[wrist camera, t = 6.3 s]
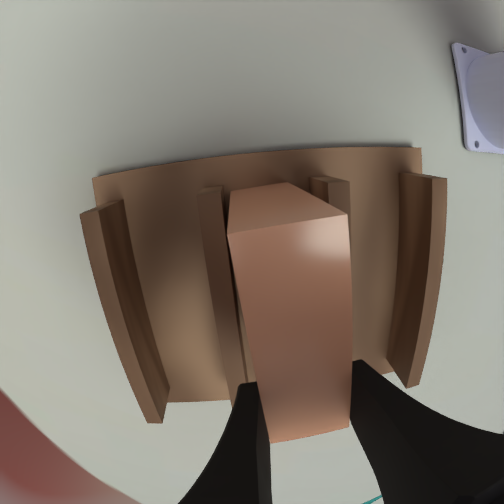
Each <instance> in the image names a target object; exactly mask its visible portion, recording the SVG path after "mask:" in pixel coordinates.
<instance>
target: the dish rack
mask: <svg viewBox="0 0 504 504" xmlns="http://www.w3.org/2000/svg"><path fill="white" fill-rule="evenodd" d="M92 181H93V188H94V194H95V201H96V206H97V207H95V208H92V209H90V210H88V211H86V212H83V213H81V214H80V219H81V224H82V229H83V234H84V238H85V243H86V247H87V252H88V256H89V260H90V264H91V268H92V272H93V276H94V279H95V283H96V287H97V290H98V294H99V297H100V301H101V304H102V307H103V310H104V314H105V317H106V320H107V323H108V326H109V329H110V332H111V335H112V338H113V341H114V344H115V346H116V349H117V352H118V355H119V357H120V360H121V363H122V365H123V368H124V370H125V373H126V375H127V378H128V380H129V383H130V385H131V388H132V390H133V392H134V395H135V397H136V399H137V401H138V404H139V406H140V408H141V410H142V413H143V415H144V417H145V419H146V421H147V423H163V418H164V414H165V409H166V404H167V402H199V401H216V400H231V405H232V408H233V405H234V402H235V398H236V394H237V389H238V386H239V385H240V384H242V383H248V382H255V381H257V380H256V375H255V371H254V366H253V361H252V356H251V352H250V347H249V342H248V337H247V332H246V328H245V323H244V318H243V313H242V308H241V303H240V298H239V293H238V288H237V283H236V278H235V273H234V268H233V263H232V257H231V252H230V247H229V242H228V237H227V228H228V217H229V205H230V194H231V191H235V190H241V189H247V188H253V187H259V186H265V185H271V184H278V183H284V182H288V183H290V184H292V185H294V186H296V187H298V188H300V189H302V190H304V191H306V192H308V193H310V194H311V195H313V196H315V197H317V198H319V199H321V200H323V201H324V202H326V203H328V204H330V205H332V206H334V207H335V208H337V209H339V210H341V211H343V212H344V213H346V214H347V216H348V228H349V242H350V258H351V279H352V319H353V346H352V361H356V360H359V359H362V360H364V361H365V362H366V363H367V364H369V365H370V366H371V367H372V368H373V369H375V370H376V371H377V372H378V373H379V374H381V375H382V374H386V373H390V372H393V371H395V373H396V374H397V376H398V377H399V379H400V380H401V382H402V383H403V385H404V386H405V388H406V389H407V388H410V387H413V386H416V385H419V382H420V379H421V375H422V371H423V368H424V364H425V360H426V356H427V351H428V347H429V343H430V338H431V334H432V329H433V324H434V318H435V313H436V307H437V301H438V295H439V288H440V281H441V274H442V265H443V256H444V245H445V232H446V214H447V178H441V177H436V176H430V175H425V174H422V155H421V148H414V147H336V148H312V149H294V150H280V151H267V152H256V153H245V154H236V155H227V156H218V157H210V158H202V159H195V160H188V161H181V162H174V163H168V164H162V165H156V166H150V167H144V168H139V169H133V170H128V171H123V172H118V173H113V174H108V175H103V176H99V177H94V178H92Z"/></svg>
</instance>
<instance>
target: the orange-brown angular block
mask: <svg viewBox="0 0 504 504" xmlns="http://www.w3.org/2000/svg"><path fill="white" fill-rule="evenodd" d="M227 237H228V242H229V247H230V252H231V257H232V263H233V268H234V273H235V278H236V283H237V288H238V293H239V298H240V303H241V308H242V313H243V318H244V323H245V328H246V332H247V337H248V342H249V347H250V352H251V356H252V361H253V366H254V371H255V375H256V380H257V385H258V389H259V394H260V398H261V403H262V407H263V412H264V416H265V421H266V425H267V430H268V434H269V439H270V443H277V442H283V441H289V440H294V439H299V438H304V437H309V436H314V435H318V434H323V433H327V432H331V431H335V430H339V429H343V428H347V427H349V420H350V405H351V384H352V346H353V319H352V279H351V258H350V242H349V228H348V216H347V214H346V213H344V212H343V211H341V210H339V209H337V208H335V207H334V206H332V205H330V204H328V203H326V202H324V201H323V200H321V199H319V198H317V197H315V196H313V195H311V194H310V193H308V192H306V191H304V190H302V189H300V188H298V187H296V186H294V185H292V184H290V183H288V182H284V183H278V184H271V185H265V186H259V187H253V188H247V189H241V190H235V191H231V194H230V205H229V217H228V228H227Z"/></svg>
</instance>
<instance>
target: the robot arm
mask: <svg viewBox="0 0 504 504" xmlns="http://www.w3.org/2000/svg"><path fill="white" fill-rule="evenodd" d="M462 50H463V51H462ZM452 52H453V57H454V62H455V67H456V73H457V79H458V85H459V92H460V99H461V108H462V117H463V129H464V143H465V147H466V149H467V150H469V151H478V152H488V153H498V154H504V51H502V52H498V53H494V54H489V53H487V52H484V51H481V50H478V49H475V48H473V47H470V46H467V45H464V44H460V43H453V44H452ZM475 143H476V146H475ZM350 421H351V424H352V426H353V428H354V430H355V433H356V435H357V437H358V439H359V441H360V443H361V445H362V447H363V450H364V452H365V454H366V456H367V458H368V460H369V462H370V464H371V466H372V469H373V471H374V473H375V476H376V478H377V482H378V485H379V488H380V491H381V494H382V497H383V501H384V504H504V434H498V433H493V432H489V431H485V430H481V429H478V428H475V427H472V426H469V425H466V424H463V423H460V422H458V421H455V420H453V419H450V418H448V417H446V416H444V415H442V414H440V413H438V412H436V411H434V410H432V409H430V408H428V407H427V406H425V405H423V404H421V403H420V402H418V401H417V400H415V399H413V398H412V397H410V396H409V395H407V394H406V393H405V392H403V391H402V390H400V389H399V388H398V387H396V386H395V385H394V384H392V383H391V382H390V381H388V380H387V379H386V378H384V377H383V376H382V375H381V374H379V373H378V372H377V371H376V370H375V369H373V368H372V367H371V366H370V365H369V364H367V363H366V362H365V361H364V360H362V359H359V360H356V361H352V384H351V405H350ZM178 504H272V493H271V463H270V441H269V434H268V430H267V425H266V421H265V416H264V412H263V407H262V403H261V398H260V394H259V389H258V385H257V381H255V382H248V383H242V384H240V385H239V386H238V389H237V394H236V398H235V402H234V405H233V408H232V411H231V414H230V417H229V420H228V422H227V425H226V427H225V430H224V432H223V434H222V436H221V439H220V441H219V443H218V445H217V447H216V449H215V451H214V453H213V455H212V456H211V458H210V460H209V462H208V463H207V465H206V467H205V468H204V470H203V472H202V473H201V475H200V476H199V477H198V479H197V480H196V482H195V483H194V484H193V486H192V487H191V489H190V490H189V491H188V492H187V494H186V495H185V496H184V497H183V498H182V500H181V501H180V502H179V503H178Z"/></svg>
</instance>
